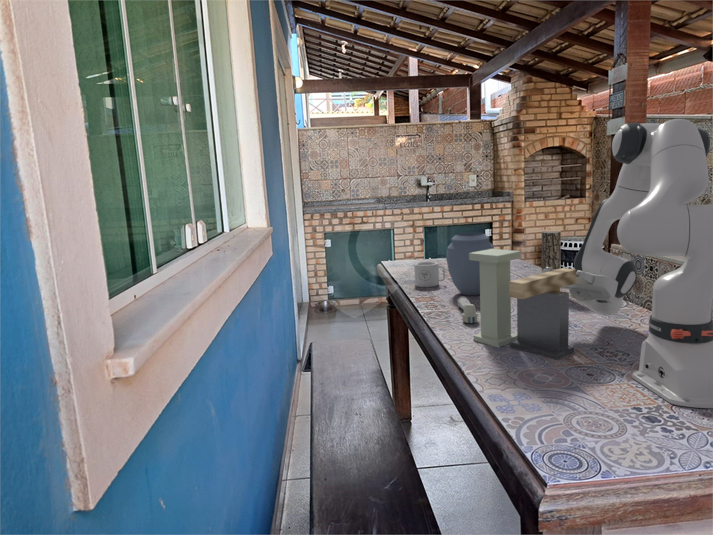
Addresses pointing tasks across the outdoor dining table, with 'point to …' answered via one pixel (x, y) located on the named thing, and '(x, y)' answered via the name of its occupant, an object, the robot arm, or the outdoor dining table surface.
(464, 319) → the light grey brush
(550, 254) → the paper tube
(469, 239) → the vase
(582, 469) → the outdoor dining table surface
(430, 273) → the mug
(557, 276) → the beam
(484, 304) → the pedestal
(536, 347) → the dark grey upright block
